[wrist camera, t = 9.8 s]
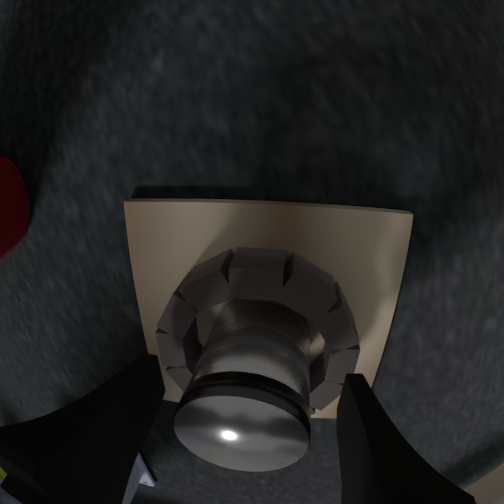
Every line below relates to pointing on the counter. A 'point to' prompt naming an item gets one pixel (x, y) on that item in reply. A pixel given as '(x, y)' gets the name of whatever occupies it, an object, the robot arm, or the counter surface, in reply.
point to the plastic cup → (12, 206)
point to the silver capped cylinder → (250, 389)
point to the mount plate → (268, 279)
